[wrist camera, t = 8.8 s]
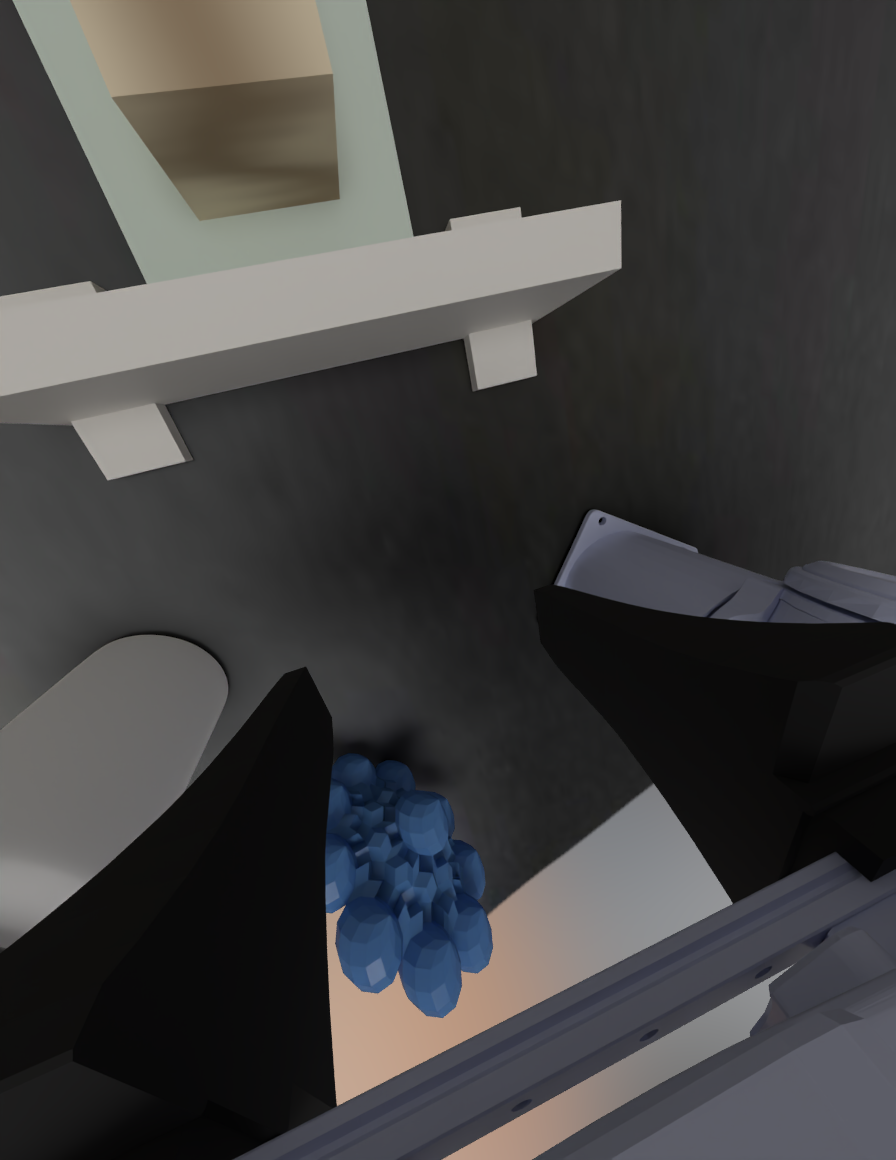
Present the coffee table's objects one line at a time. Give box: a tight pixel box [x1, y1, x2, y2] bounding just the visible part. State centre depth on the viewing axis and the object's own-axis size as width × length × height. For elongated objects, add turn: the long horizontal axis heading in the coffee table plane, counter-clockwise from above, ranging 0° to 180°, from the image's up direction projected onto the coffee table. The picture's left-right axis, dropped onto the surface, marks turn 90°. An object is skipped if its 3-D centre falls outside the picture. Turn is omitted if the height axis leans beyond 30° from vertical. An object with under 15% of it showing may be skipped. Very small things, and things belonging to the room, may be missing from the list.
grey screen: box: [0, 200, 621, 480], centre depth 12 cm, size 20×6×6 cm, turn 103°
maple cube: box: [70, 0, 340, 221], centre depth 9 cm, size 5×5×5 cm
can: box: [0, 635, 228, 953], centre depth 13 cm, size 6×6×12 cm
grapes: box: [325, 753, 493, 1018], centre depth 19 cm, size 12×7×12 cm, turn 55°
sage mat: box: [13, 0, 413, 284], centre depth 12 cm, size 10×10×1 cm
